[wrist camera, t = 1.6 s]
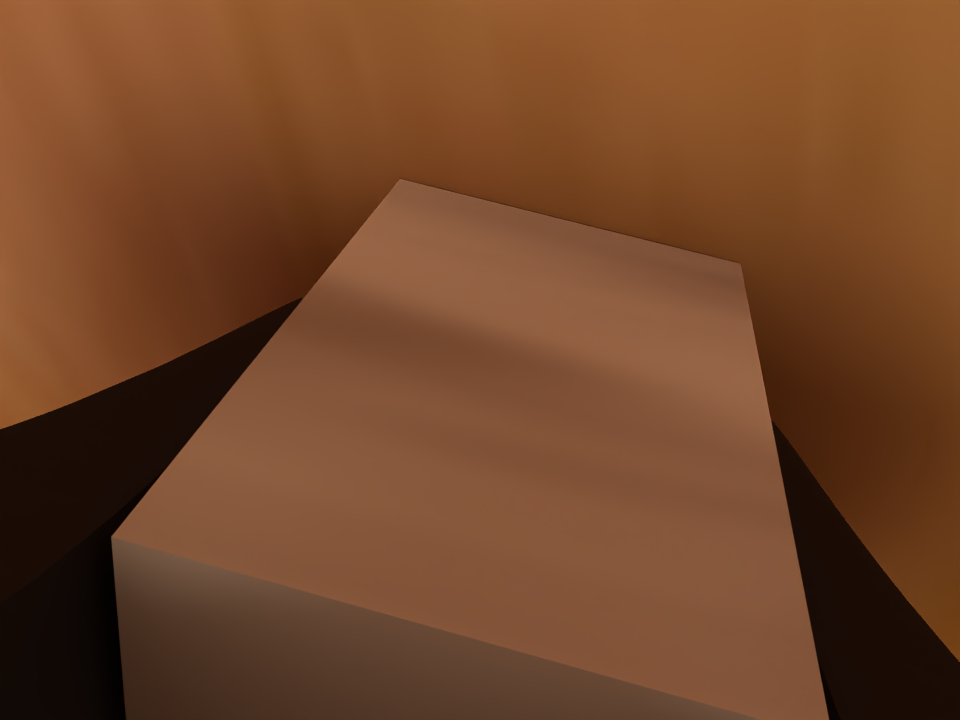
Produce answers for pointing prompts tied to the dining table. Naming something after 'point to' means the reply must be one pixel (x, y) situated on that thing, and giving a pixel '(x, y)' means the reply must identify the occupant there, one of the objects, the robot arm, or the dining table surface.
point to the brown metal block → (479, 495)
